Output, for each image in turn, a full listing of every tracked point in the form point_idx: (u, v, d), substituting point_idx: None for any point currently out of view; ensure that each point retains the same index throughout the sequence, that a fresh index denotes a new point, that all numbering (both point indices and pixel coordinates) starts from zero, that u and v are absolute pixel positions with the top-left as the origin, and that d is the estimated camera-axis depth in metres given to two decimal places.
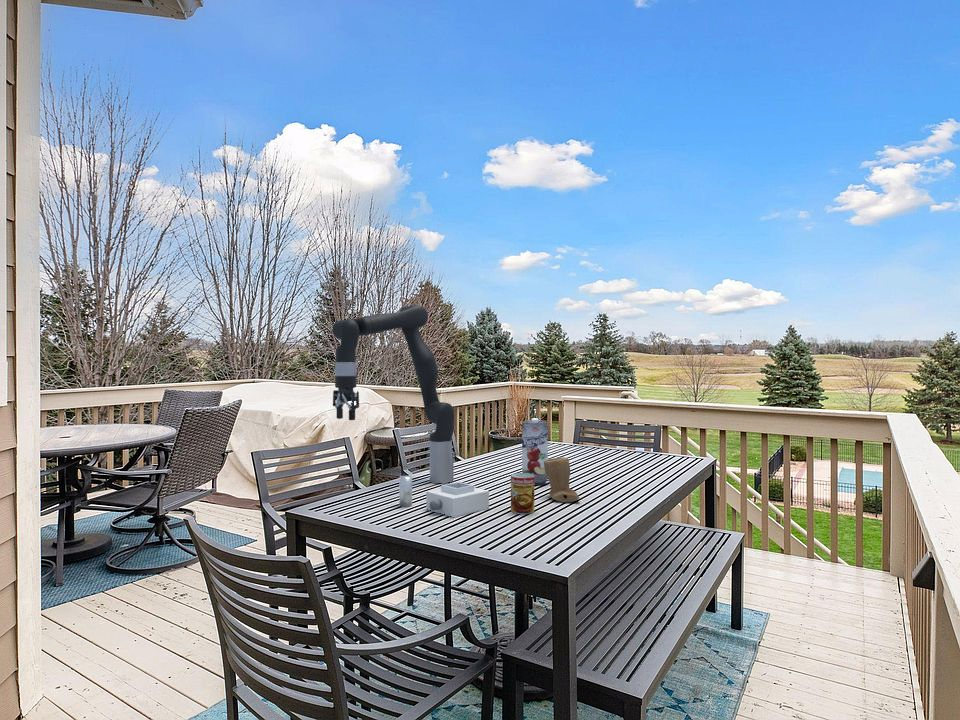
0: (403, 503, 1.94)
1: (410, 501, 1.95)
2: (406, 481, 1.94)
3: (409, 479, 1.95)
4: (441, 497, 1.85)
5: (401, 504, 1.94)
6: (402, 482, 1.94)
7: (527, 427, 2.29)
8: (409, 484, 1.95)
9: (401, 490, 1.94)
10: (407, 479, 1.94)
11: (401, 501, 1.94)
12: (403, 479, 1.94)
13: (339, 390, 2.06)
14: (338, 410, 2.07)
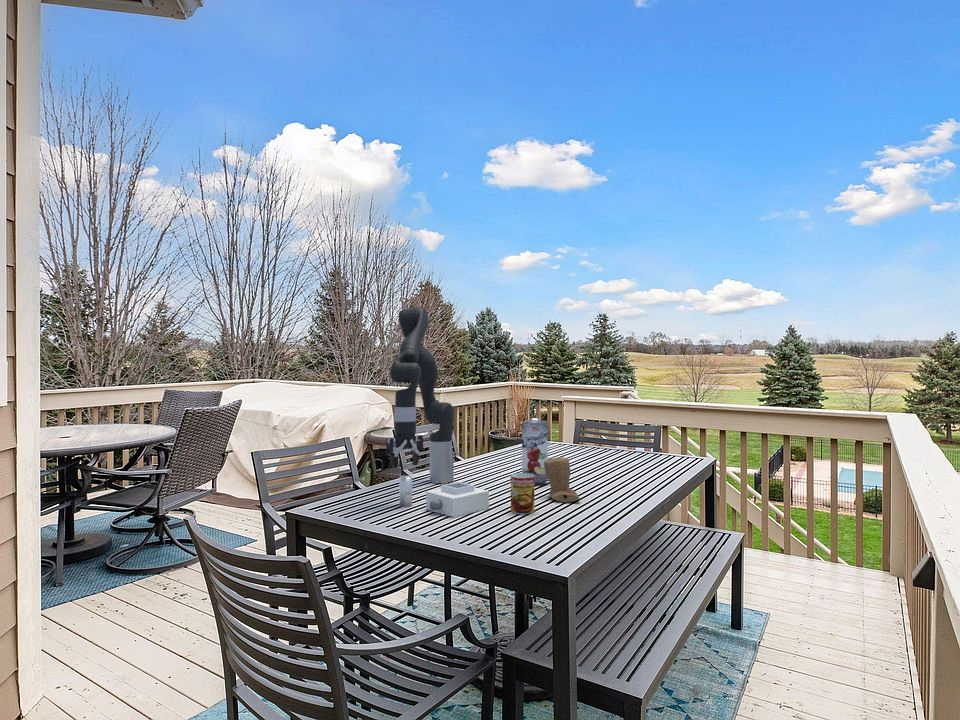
0: (403, 503, 1.94)
1: (410, 501, 1.95)
2: (406, 481, 1.94)
3: (409, 479, 1.95)
4: (441, 497, 1.85)
5: (401, 504, 1.94)
6: (402, 482, 1.94)
7: (527, 427, 2.29)
8: (409, 484, 1.95)
9: (401, 490, 1.94)
10: (407, 479, 1.94)
11: (401, 501, 1.94)
12: (403, 479, 1.94)
13: (401, 437, 1.94)
14: None
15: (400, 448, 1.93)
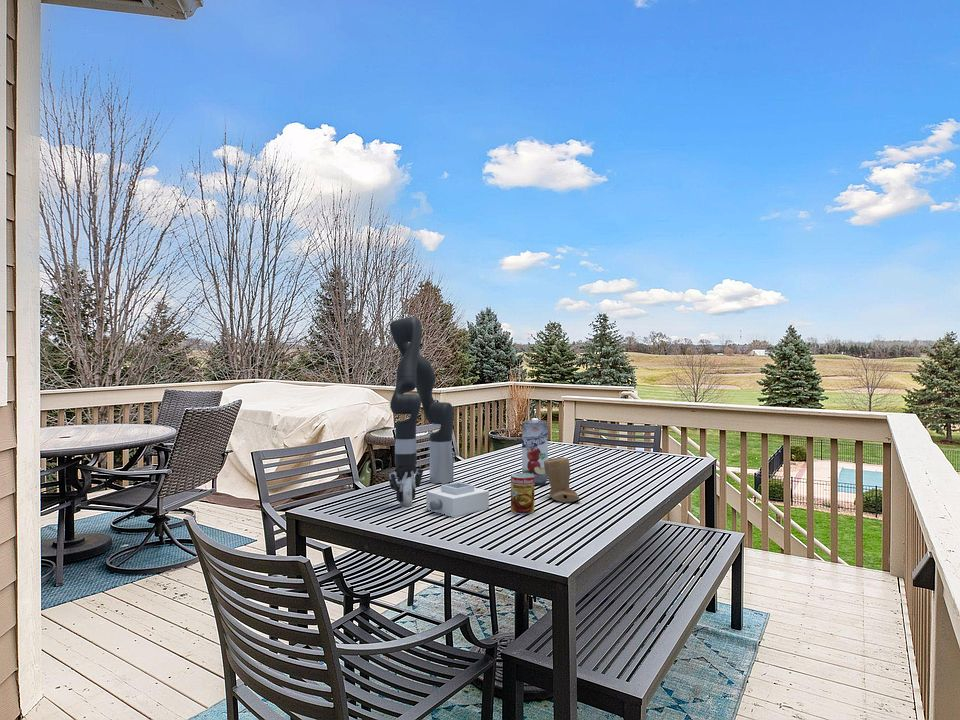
0: (404, 503, 1.94)
1: (410, 501, 1.95)
2: (406, 481, 1.94)
3: (409, 479, 1.95)
4: (441, 497, 1.85)
5: (401, 504, 1.94)
6: None
7: (527, 427, 2.29)
8: (409, 484, 1.95)
9: None
10: (407, 479, 1.94)
11: None
12: None
13: (401, 468, 1.93)
14: None
15: (403, 481, 1.93)
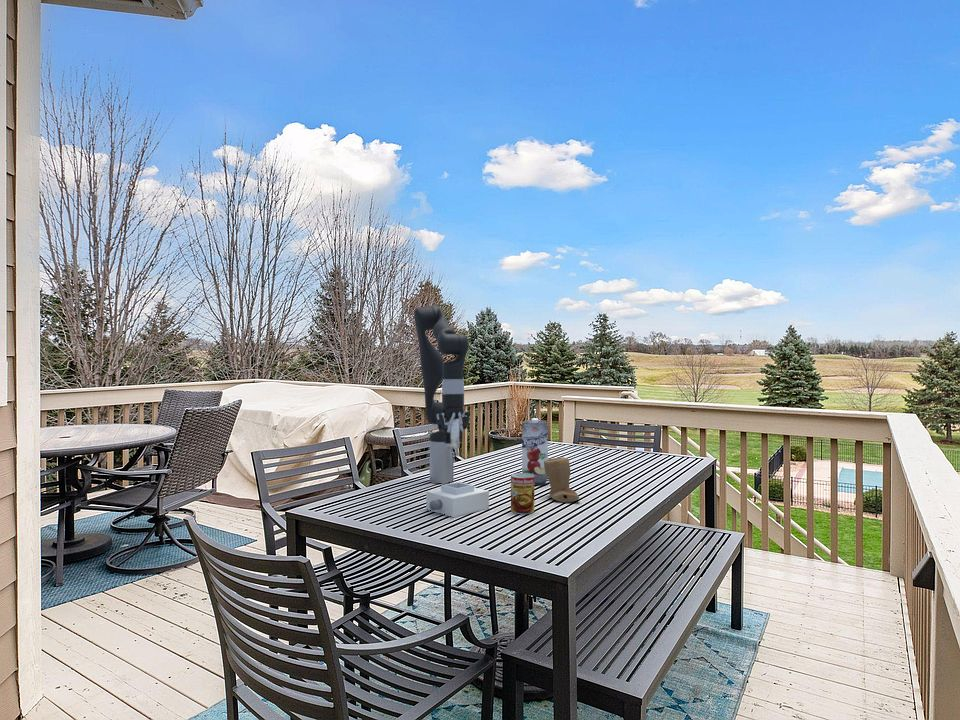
0: (451, 444, 1.89)
1: (458, 443, 1.90)
2: (454, 422, 1.90)
3: (457, 420, 1.90)
4: (441, 497, 1.85)
5: (449, 446, 1.90)
6: None
7: (527, 427, 2.29)
8: (457, 425, 1.90)
9: None
10: (455, 420, 1.90)
11: None
12: None
13: (448, 409, 1.89)
14: None
15: (451, 422, 1.89)
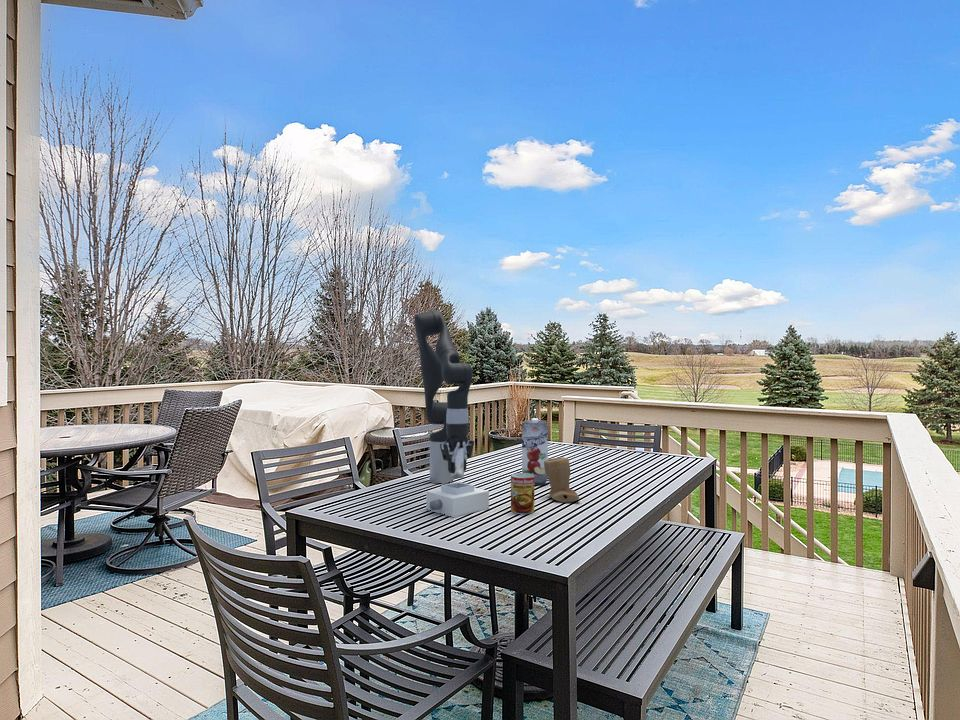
0: (456, 474, 1.89)
1: (462, 472, 1.90)
2: (458, 452, 1.90)
3: (461, 450, 1.90)
4: (441, 497, 1.85)
5: (453, 475, 1.90)
6: None
7: (527, 427, 2.29)
8: (461, 455, 1.90)
9: None
10: (459, 450, 1.90)
11: None
12: None
13: (453, 439, 1.89)
14: None
15: (455, 452, 1.89)
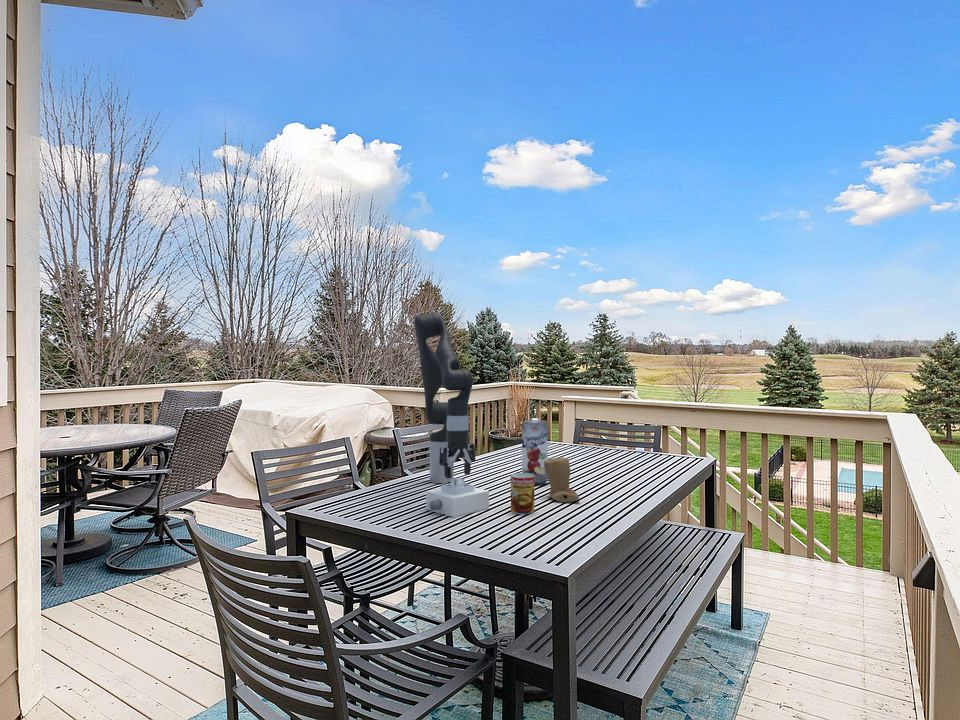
0: None
1: None
2: (459, 484, 1.89)
3: (461, 482, 1.90)
4: (441, 497, 1.85)
5: None
6: (454, 485, 1.89)
7: (527, 427, 2.29)
8: None
9: None
10: (460, 482, 1.89)
11: None
12: (455, 482, 1.89)
13: (454, 446, 1.89)
14: None
15: (453, 458, 1.88)
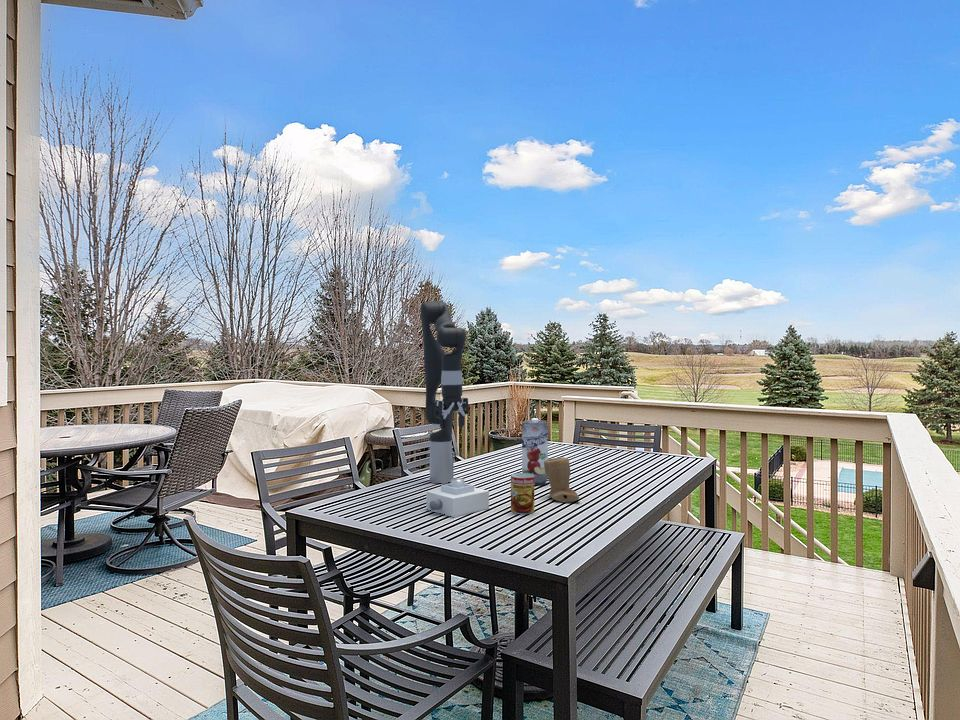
0: None
1: None
2: (459, 484, 1.89)
3: (462, 482, 1.90)
4: (441, 497, 1.85)
5: None
6: (454, 485, 1.89)
7: (527, 427, 2.29)
8: None
9: None
10: (460, 482, 1.89)
11: None
12: (456, 482, 1.89)
13: (449, 399, 2.00)
14: None
15: (448, 410, 2.00)
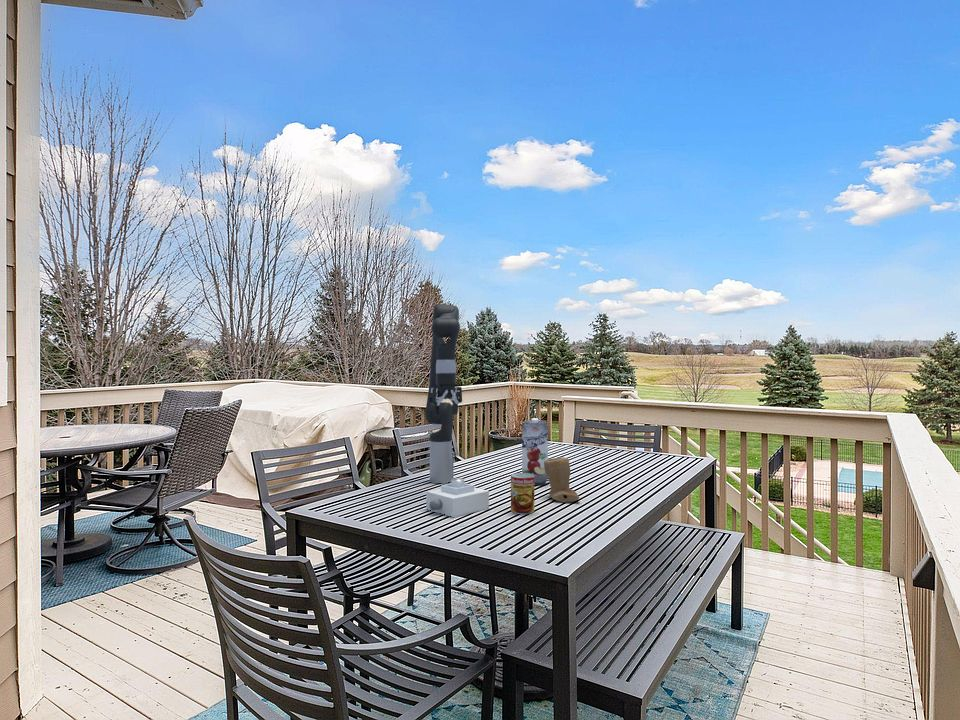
0: None
1: None
2: (459, 484, 1.89)
3: (462, 482, 1.90)
4: (441, 497, 1.85)
5: None
6: (454, 485, 1.89)
7: (527, 427, 2.29)
8: None
9: None
10: (460, 482, 1.89)
11: None
12: (456, 482, 1.89)
13: (442, 387, 2.09)
14: None
15: (442, 397, 2.08)
